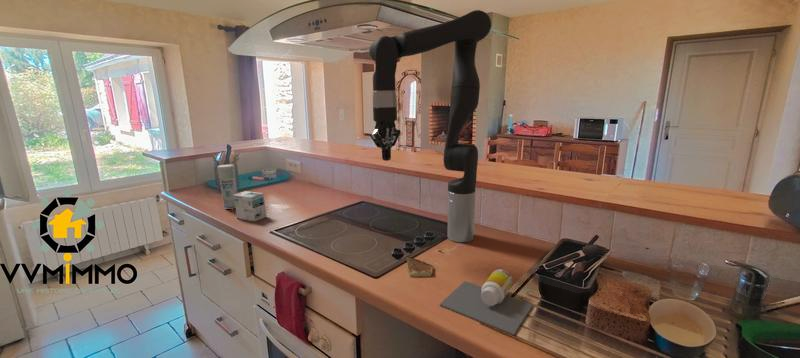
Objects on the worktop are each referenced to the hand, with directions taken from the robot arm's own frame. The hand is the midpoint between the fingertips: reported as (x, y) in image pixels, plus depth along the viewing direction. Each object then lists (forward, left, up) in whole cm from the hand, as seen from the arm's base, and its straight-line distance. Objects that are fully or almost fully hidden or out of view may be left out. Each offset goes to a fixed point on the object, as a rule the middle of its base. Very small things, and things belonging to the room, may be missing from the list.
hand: (386, 160), depth 112 cm
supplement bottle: (+5, +42, -26) cm, 50 cm away
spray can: (+12, -85, -29) cm, 91 cm away
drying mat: (+14, +42, -29) cm, 53 cm away
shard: (+10, +18, -30) cm, 36 cm away
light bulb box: (+14, -64, -29) cm, 72 cm away
